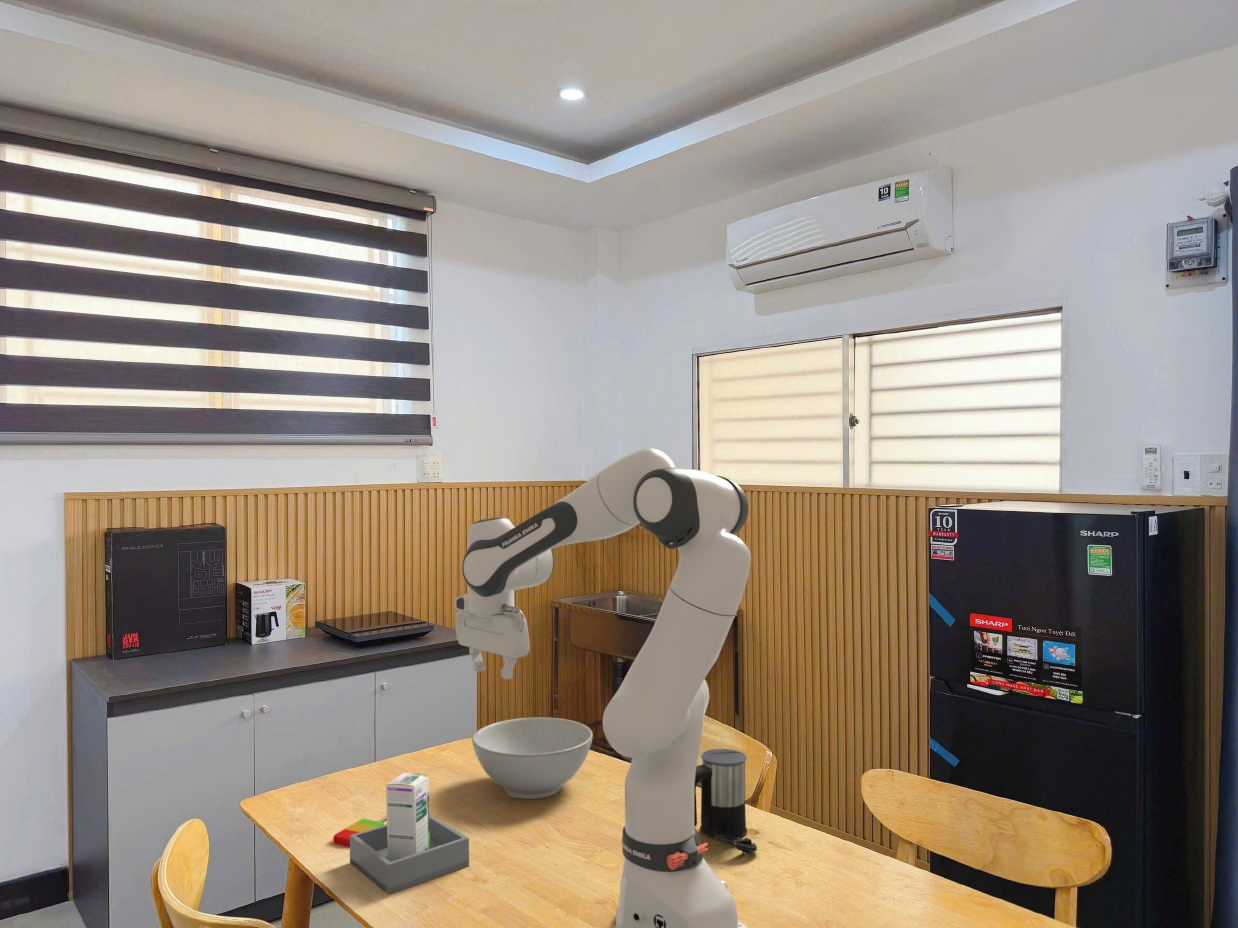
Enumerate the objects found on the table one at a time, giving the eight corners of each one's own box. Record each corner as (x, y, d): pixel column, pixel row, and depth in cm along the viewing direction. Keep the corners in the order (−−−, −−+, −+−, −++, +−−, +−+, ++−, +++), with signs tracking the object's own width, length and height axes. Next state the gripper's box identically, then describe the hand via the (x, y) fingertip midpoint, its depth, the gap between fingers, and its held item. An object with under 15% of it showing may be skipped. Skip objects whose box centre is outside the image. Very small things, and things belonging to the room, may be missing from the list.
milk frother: (720, 817, 176) (719, 744, 176) (785, 840, 165) (784, 762, 165) (674, 838, 166) (674, 762, 166) (741, 865, 154) (740, 782, 154)
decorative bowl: (485, 767, 206) (485, 716, 206) (596, 767, 205) (596, 717, 205) (460, 812, 179) (460, 754, 179) (588, 813, 178) (588, 754, 178)
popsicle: (330, 845, 165) (330, 835, 165) (381, 816, 179) (381, 807, 179) (353, 850, 163) (353, 840, 163) (403, 820, 176) (402, 810, 176)
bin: (469, 865, 155) (468, 837, 155) (388, 894, 145) (388, 864, 145) (427, 837, 167) (426, 812, 167) (350, 862, 156) (349, 835, 157)
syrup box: (416, 866, 152) (415, 785, 152) (386, 863, 154) (385, 782, 154) (430, 852, 158) (430, 773, 158) (401, 849, 159) (401, 771, 159)
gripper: (536, 605, 159) (538, 680, 159) (476, 595, 174) (478, 663, 174) (508, 609, 155) (510, 686, 155) (449, 599, 170) (451, 668, 170)
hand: (492, 674), depth 165 cm, fingers open, 8 cm apart
